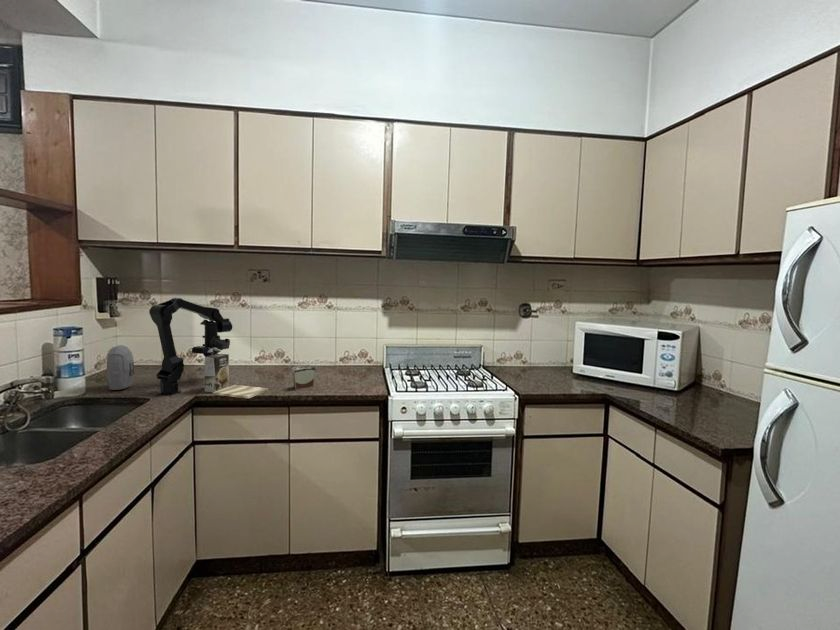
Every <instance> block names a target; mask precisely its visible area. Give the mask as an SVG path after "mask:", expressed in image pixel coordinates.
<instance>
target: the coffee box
mask: <svg viewBox="0 0 840 630" xmlns="http://www.w3.org/2000/svg"><path fill="white" fill-rule="evenodd" d="M229 356H230V354H229V353H228V354H227V353H218V354H215V355H211V356H206V357H205V356H204V392H205V393H207V392H209V393H213V392H216V391H219V390H221V389H224V388H227V387H230V373H229V372H230V371H229V370H230V368H229V367H230V364H229V363H230V362H229V361H230V359H229V358H230V357H229Z"/></svg>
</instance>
